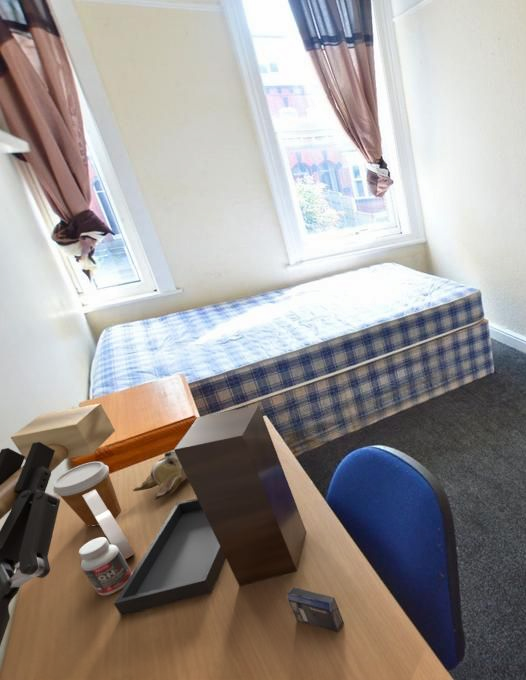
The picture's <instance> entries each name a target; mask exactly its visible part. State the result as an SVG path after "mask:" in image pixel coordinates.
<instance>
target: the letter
mask: <svg viewBox="0 0 526 680" xmlns="http://www.w3.org/2000/svg"><path fill="white" fill-rule="evenodd" d="M82 496H83V498H84V499H85V501H86V503H87V504H88V506H89V508H90V509H91V511H92V513H93V514H94V516H95V518H96V520H97V521H98V523H99V525H98V526H100V528H101V529H102V532H103V533H104V535H105V536H106V539H107V540H108V542H109V544H112V545H115V546H117V547H118V549H119V551H120V552H121V554H122V556H123V558H124V559H125V560H127V559H129V558H130V557H132V556H134V555H135V554H136V553H135V551H134V549H133V548H132V546H131V544H130V542H129V541H128V539H127V537H126V535H125V534H124V531H123V530H122V529H121V527H120V526H119V524H118V522H117V521H116V519H115V517H113V516H112V514H111V513H110V511H109V510H108V509H107V507H106V506H105V504H104V502H103V501H102V499H101V498H100V496H99V494H98V493H97V491H96V490H92V491H90V492H88V493H86V494H84V495H82Z"/></svg>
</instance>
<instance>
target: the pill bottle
mask: <svg viewBox="0 0 526 680" xmlns="http://www.w3.org/2000/svg"><path fill="white" fill-rule="evenodd" d="M78 555H79V556H80V558H81V559H82V560H81V563H80V567H81V569H82V571H83V572H84V575H85V576H86V577H87V579H88V580H89V582H90V583H91V585H92V586H93V588H94V590H95V591H96V592H97V594H98V595H100V596H109V595H111V594H115V593H116V592H118V591H120V590H123V588H124V586H125V585H126V583H127V582H128V580H129V578H130V577H131V575H132V574H133V571H132V569H131V567H130V566H129V564H128V563H127V561H126V559H124V558H123V556H122V554H121V552H120V551H119V549H118V547H117V546H115V545H112V544H111V543H110V541H109V540H108V538H107V537H104V536H99V537H96V538H93V539H91V540H89V541H88V542H86V543H84V544H83V545H82V546H81V547H80V548H79V550H78Z"/></svg>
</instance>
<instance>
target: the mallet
mask: <svg viewBox="0 0 526 680" xmlns="http://www.w3.org/2000/svg"><path fill="white" fill-rule="evenodd" d="M115 432H116V429H115V427H114V425H113V423H112V422H111V420H110V418H109V416H108V414H107V413H106V411H105V409H104V407H103V405H102V403H94V404H89V405H84V406H79V407H74V408H68V409H63V410H58V411H53V412H48V413H42V414H40V415H38V416H37V417H36V418H34V419H33V420H31V421H30V422H29V423H27V424H25V426H23V427H22V428H21V429H19V430H17V432H15V433H13V435H12V436H10V439H11V441H12V442H13V444H14V445H15V447H16V448H17V450H18V451H19V454H21V455H23V456H25V458H24V461H26V459H27V456H28V454H29V451H30V449H31V446H32V444H33V443H36V442H40V443H42V444H44V445H46V446H48V447H49V448H51V449H53V450H55V452H54V455H53V458H52V461H51V463H50V466H49V470H51V473H52V472H53V471H54V470H56V468H57V467H58V466H60V465H61V464H62V463H63V462H64V461H65V460H68V459H72V458H79V457H83V456H88V455H92V454H94V453H95V452H96V451H97V450H98V449H99V448H100V447H101V446H102V445H103V444H104V443H105V442H106V440H108V439H109V438H111V436H112V435H113V434H114V433H115ZM23 466H24V465H22V466H21V468H20V469H19V470H18V471H17V472H15V473H14V474H13V475H12V476H11V477H9V478H8V479H7V480H6V481H5V482H4V483H2V484H1V485H0V521H1V520H2V519H3V518H4V517H5V516H6V515H7V514H9V513H10V511H11V510H12V508H13V506H14V504H15V502H16V500H17V498H18V497H19V495H20V494H18V493H16V492H14V489H15V486H16V484H17V481H18V479H19V476H20V474H21V471H22V469H23Z"/></svg>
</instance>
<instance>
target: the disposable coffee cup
mask: <svg viewBox="0 0 526 680" xmlns="http://www.w3.org/2000/svg"><path fill="white" fill-rule="evenodd" d="M52 486H53V489H52V493H54V494H55V495H57V496H59V497H60V498H62V500H63V501H64V502H65V503H66V504H67V505H68V507H69V508H70V509H72V511H73V512H74V513H75V514H76V515H77V516H78V517H79V519H81V520H82V522H83V523H84V524H85V525H86V526H87V525H89V526H88V527H93V526H92V525H97V524H99V523H98V521H97V520H96V518H95V516H94V514H93V513H92V511H91V509H90V508H89V506H88V504H87V503H86V501H85V499H84V498H83V496H82V495H84V494H86V493H88V492H90V491H92V490H96V491H97V493H98V494H99V496H100V498H101V499H102V501H103V502H104V504H105V506H106V507H107V509H108V510H109V511H110V513H111V514H112V516H113V517H114V518H115V517H116V516H117V515H118V514H119V513H120V512H121V510H122V509H121V505H120V503H119V499H118V496H117V492H116V490H115V488H114V485H113V482H112V479H111V476H110V468H109V466H108V465H107V464H105V463H104V462H103V461H90V462H86V463H83V464H80V465H78V466H77V465H76V466H74V467H73V468H71V469H69V470H67V471H65V472H64V473H62V474H60V475H59V476H58V477H57V478H56V479H55V480H54V481H53V483H52ZM97 526H98V525H97Z"/></svg>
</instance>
